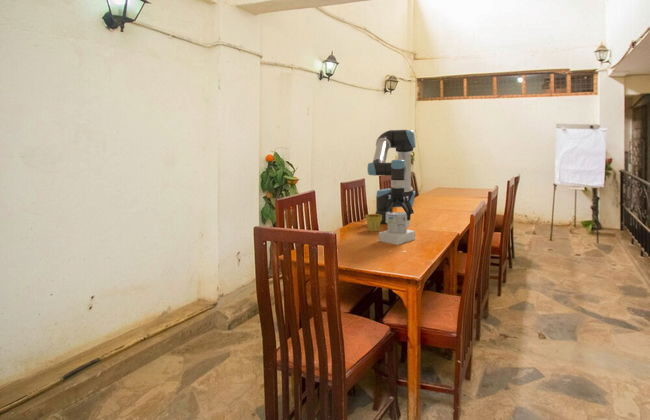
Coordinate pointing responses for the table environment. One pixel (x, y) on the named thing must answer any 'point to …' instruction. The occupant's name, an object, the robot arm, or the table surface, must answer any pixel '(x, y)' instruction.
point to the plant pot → (373, 221)
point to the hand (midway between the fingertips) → (397, 224)
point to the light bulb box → (396, 223)
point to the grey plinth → (396, 237)
